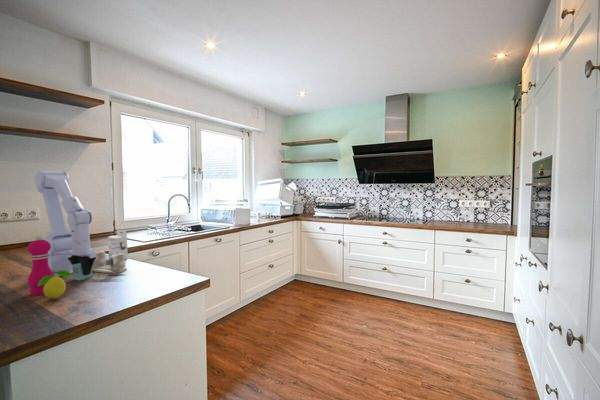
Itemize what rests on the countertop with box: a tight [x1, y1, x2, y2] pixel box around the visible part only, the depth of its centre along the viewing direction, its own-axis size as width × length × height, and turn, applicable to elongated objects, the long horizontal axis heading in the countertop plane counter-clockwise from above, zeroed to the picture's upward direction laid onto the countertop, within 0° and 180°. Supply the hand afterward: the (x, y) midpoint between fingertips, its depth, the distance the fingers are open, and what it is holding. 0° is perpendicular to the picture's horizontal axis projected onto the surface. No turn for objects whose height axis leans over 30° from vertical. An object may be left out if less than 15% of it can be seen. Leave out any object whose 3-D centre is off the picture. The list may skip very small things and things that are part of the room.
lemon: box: [38, 269, 73, 300], centre depth 93 cm, size 7×6×10 cm
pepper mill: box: [27, 235, 55, 296], centre depth 100 cm, size 7×7×20 cm
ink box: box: [107, 229, 129, 260], centre depth 144 cm, size 9×5×15 cm, turn 62°
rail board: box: [92, 250, 128, 275], centre depth 125 cm, size 6×15×7 cm, turn 68°
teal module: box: [72, 263, 94, 282], centre depth 115 cm, size 5×4×6 cm
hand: (82, 274), depth 115 cm, fingers open, 5 cm apart
